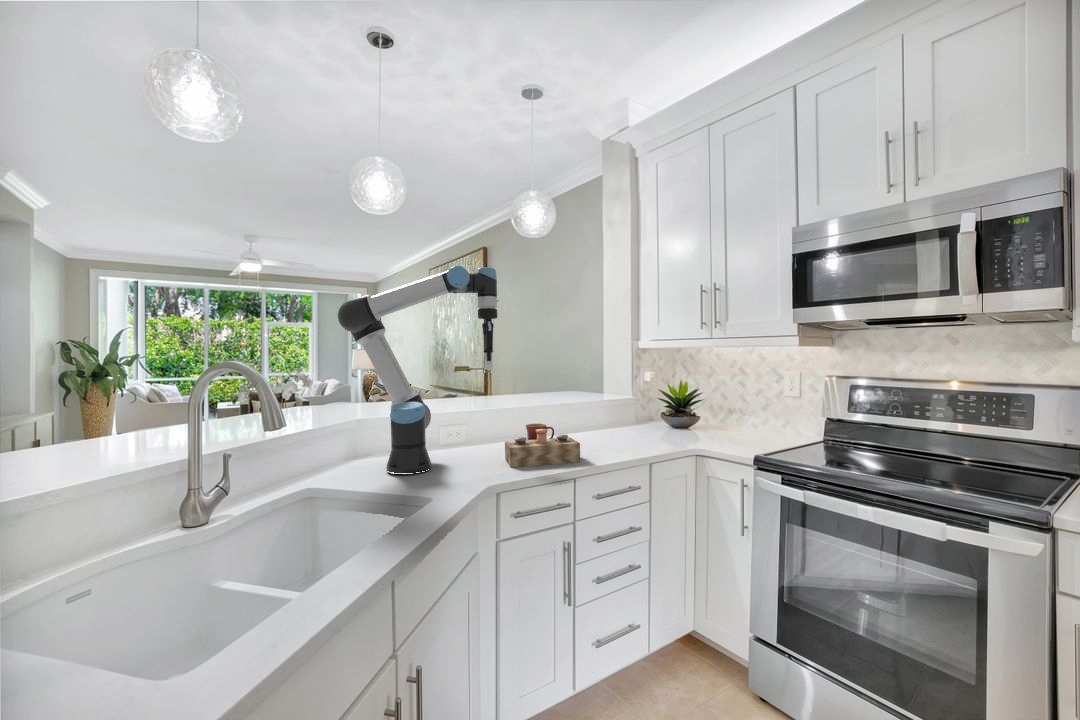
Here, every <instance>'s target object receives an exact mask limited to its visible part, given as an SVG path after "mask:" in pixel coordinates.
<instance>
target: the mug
mask: <svg viewBox="0 0 1080 720" xmlns="http://www.w3.org/2000/svg"><path fill="white" fill-rule="evenodd" d="M524 426H525V428H526V432H527V437H526V438H527V440H537V433H536V430H537V429H547V430H549V429H550V430H551V436H550V437H549V438H548V439H554V436H555V428H554V427H552V426H547V424H545V423H528V424H527V423H526V424H525V425H524Z"/></svg>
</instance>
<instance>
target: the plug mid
mask: <svg viewBox="0 0 1080 720" xmlns="http://www.w3.org/2000/svg"><path fill="white" fill-rule="evenodd" d="M536 433H537V444H543V443H547V439H548V438H547V433H548V429H537V430H536Z"/></svg>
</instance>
